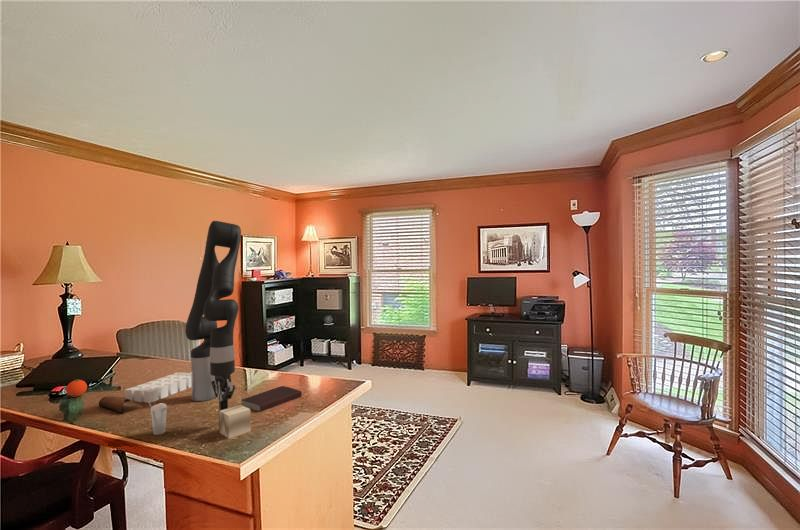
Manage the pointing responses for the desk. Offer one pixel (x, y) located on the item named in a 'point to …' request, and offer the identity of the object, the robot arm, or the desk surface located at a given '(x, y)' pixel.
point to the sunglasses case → (119, 404)
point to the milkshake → (158, 418)
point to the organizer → (159, 388)
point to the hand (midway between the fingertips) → (223, 411)
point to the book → (271, 398)
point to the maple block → (234, 421)
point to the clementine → (76, 388)
